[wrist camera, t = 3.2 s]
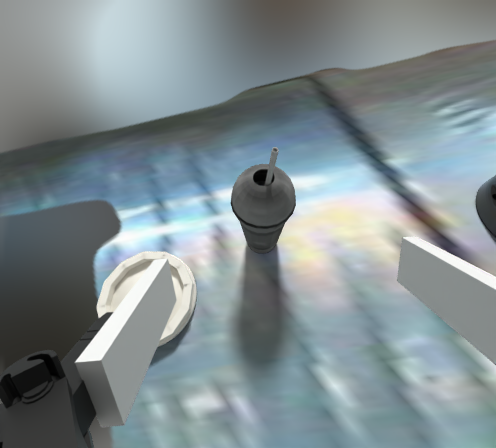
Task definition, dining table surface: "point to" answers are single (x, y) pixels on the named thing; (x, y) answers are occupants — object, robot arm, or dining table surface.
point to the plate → (131, 273)
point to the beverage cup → (263, 203)
